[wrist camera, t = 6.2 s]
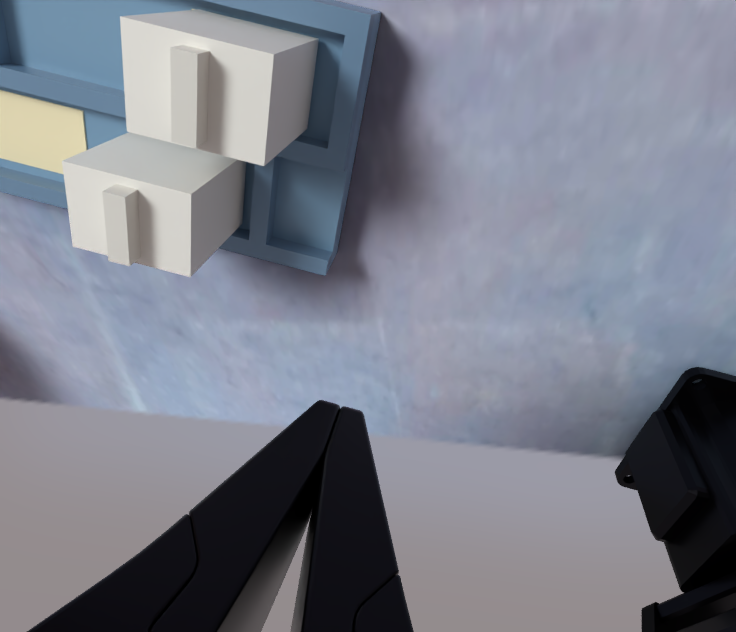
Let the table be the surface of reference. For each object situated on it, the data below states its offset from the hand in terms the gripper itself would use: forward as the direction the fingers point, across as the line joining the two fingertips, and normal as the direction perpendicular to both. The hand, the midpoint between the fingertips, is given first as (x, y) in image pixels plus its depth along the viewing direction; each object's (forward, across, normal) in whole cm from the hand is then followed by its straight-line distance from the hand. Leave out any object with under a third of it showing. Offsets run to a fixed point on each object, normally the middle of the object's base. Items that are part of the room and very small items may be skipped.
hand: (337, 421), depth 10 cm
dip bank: (+10, +10, -2) cm, 14 cm away
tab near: (+9, +5, -4) cm, 11 cm away
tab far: (+9, +7, 0) cm, 12 cm away
